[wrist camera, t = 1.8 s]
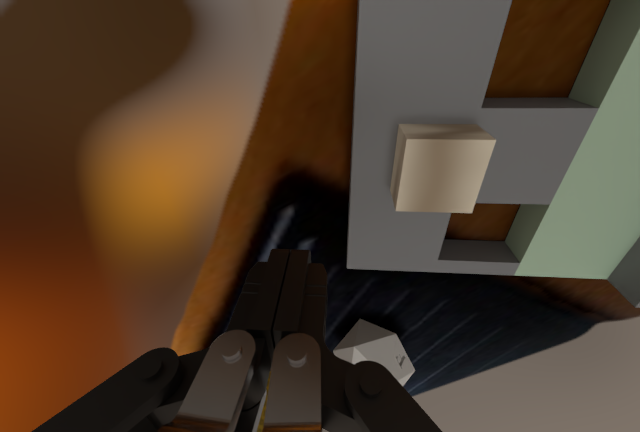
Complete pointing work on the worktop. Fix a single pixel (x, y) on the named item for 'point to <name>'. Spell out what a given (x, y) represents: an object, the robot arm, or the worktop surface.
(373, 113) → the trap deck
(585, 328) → the worktop surface
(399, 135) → the birch block
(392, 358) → the die
